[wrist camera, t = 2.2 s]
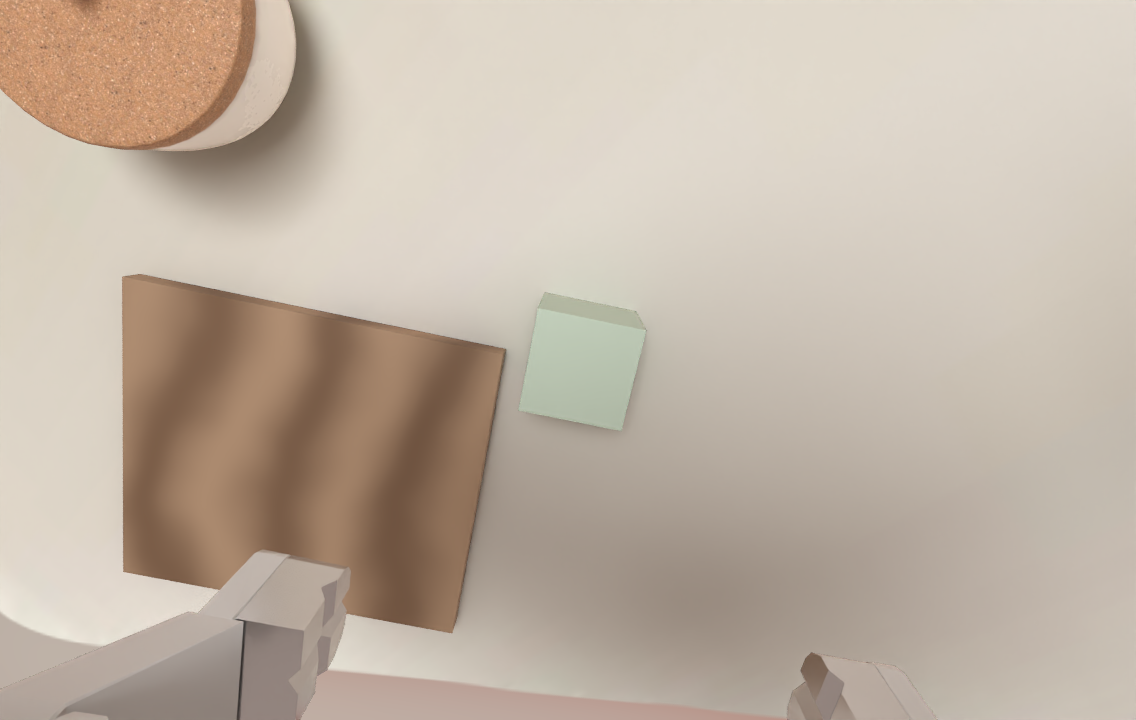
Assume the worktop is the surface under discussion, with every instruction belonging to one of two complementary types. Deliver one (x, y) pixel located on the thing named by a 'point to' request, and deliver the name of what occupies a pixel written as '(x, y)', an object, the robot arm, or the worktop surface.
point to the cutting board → (301, 445)
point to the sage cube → (582, 361)
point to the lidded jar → (148, 68)
